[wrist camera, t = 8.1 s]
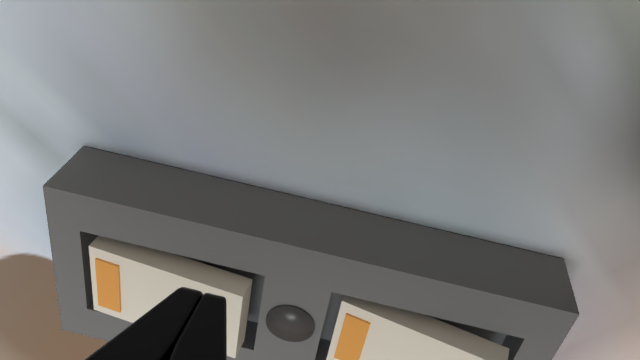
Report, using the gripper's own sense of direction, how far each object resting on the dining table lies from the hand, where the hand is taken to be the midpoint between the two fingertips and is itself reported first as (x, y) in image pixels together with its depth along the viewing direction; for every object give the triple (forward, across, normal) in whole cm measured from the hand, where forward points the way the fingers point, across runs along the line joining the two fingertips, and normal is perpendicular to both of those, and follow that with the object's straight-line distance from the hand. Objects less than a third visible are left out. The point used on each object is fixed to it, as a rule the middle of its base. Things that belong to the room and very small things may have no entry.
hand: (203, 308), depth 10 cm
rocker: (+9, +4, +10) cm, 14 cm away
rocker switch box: (+12, -1, +10) cm, 16 cm away
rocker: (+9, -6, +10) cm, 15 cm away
